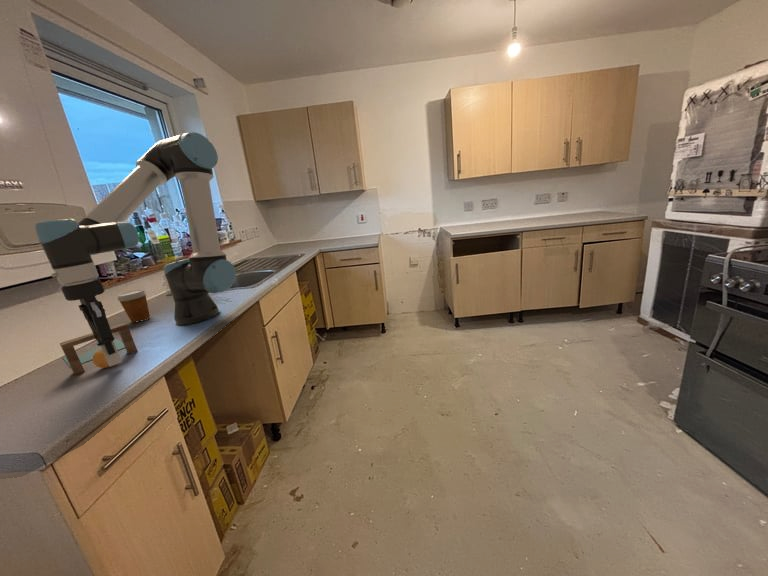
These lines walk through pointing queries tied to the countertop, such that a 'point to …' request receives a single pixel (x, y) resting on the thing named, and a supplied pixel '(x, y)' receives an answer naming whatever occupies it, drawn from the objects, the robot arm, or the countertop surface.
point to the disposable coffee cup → (135, 305)
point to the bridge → (69, 344)
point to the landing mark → (89, 356)
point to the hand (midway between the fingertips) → (115, 363)
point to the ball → (100, 359)
